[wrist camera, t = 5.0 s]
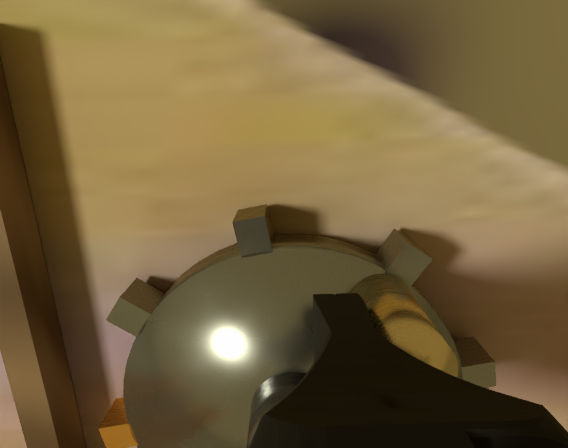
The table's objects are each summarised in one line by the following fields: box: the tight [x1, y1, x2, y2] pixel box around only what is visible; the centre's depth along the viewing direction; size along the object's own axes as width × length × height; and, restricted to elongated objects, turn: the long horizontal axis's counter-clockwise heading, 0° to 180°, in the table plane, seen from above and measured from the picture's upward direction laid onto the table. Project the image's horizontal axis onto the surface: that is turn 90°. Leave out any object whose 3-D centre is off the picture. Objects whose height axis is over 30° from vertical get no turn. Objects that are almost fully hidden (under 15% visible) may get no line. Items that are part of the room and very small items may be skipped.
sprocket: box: [98, 204, 496, 448], centre depth 12 cm, size 14×14×5 cm
